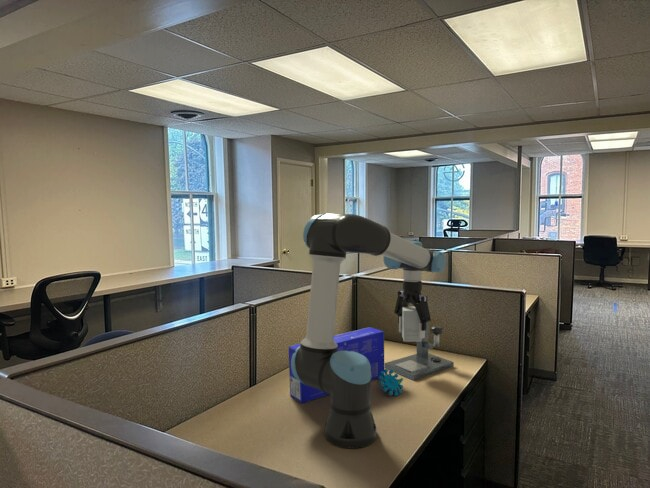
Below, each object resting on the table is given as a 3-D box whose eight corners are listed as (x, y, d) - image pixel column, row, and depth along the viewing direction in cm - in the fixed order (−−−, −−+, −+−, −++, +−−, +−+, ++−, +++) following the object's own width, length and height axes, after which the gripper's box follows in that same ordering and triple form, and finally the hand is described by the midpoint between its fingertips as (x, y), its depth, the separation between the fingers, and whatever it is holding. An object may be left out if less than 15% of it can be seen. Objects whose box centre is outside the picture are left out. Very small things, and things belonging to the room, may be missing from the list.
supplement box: (419, 336, 175) (420, 306, 174) (422, 342, 168) (422, 310, 166) (401, 336, 176) (401, 305, 175) (403, 341, 168) (403, 310, 167)
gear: (387, 396, 147) (376, 369, 153) (378, 403, 150) (367, 376, 156) (410, 392, 153) (399, 366, 159) (401, 399, 156) (390, 374, 162)
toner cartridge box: (370, 370, 174) (370, 326, 172) (384, 377, 167) (385, 331, 165) (288, 395, 151) (287, 344, 150) (301, 404, 144) (300, 351, 143)
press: (413, 380, 164) (414, 334, 162) (384, 367, 177) (385, 325, 175) (453, 366, 178) (454, 324, 176) (424, 355, 190) (424, 316, 189)
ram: (437, 348, 176) (437, 329, 175) (427, 345, 180) (427, 327, 179) (444, 346, 179) (445, 327, 178) (435, 343, 183) (435, 325, 182)
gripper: (441, 283, 162) (440, 340, 165) (398, 275, 181) (398, 326, 183) (428, 285, 158) (427, 344, 160) (385, 277, 176) (385, 329, 178)
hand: (411, 334), depth 171 cm, fingers closed on supplement box, 10 cm apart
